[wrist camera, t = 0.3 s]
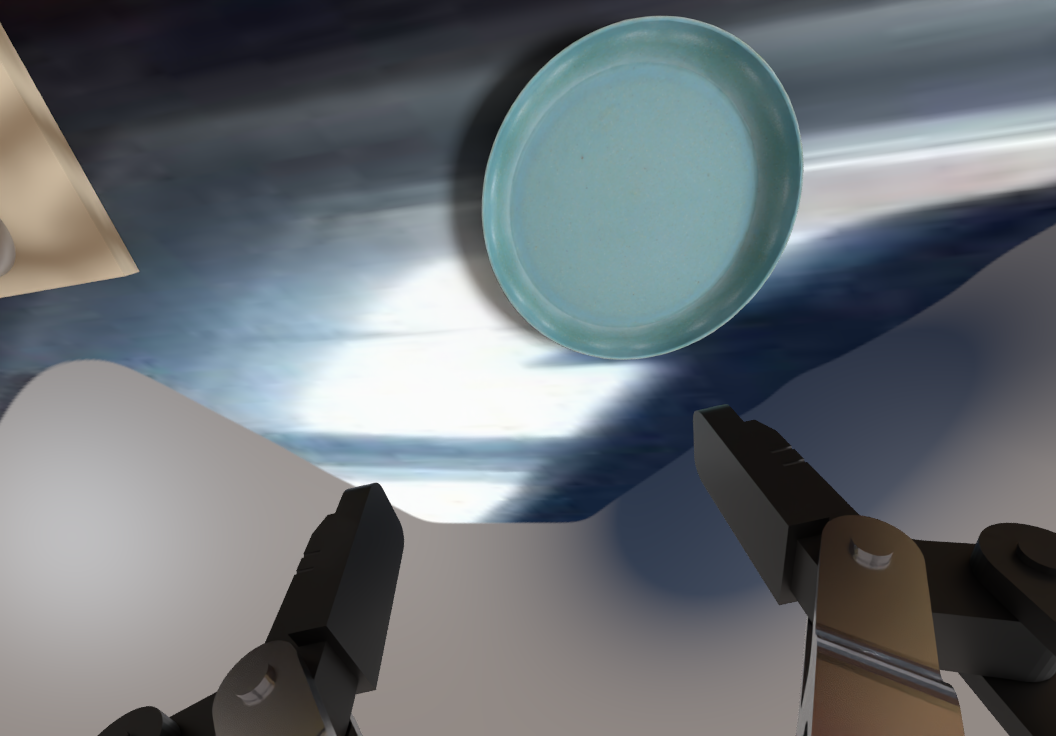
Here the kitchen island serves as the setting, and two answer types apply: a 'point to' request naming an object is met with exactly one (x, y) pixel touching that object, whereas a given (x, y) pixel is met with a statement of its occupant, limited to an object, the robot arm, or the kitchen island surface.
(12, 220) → the carrier board
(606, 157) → the saucer
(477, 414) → the kitchen island surface
